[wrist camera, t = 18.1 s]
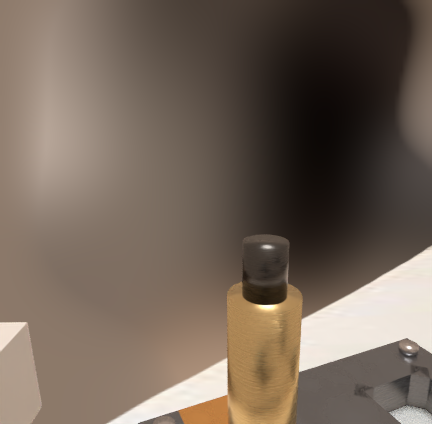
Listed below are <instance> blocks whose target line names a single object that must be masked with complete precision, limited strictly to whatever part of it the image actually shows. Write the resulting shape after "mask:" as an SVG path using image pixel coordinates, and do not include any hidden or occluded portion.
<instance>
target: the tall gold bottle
mask: <svg viewBox="0 0 432 424" xmlns="http://www.w3.org/2000/svg"><path fill="white" fill-rule="evenodd" d="M288 258H289V241H288V240H287V239H285V238H283V237H280V236H274V235H254V236H249V237H246V238H245V239H243V247H242V262H243V263H242V282H240V283H237V284H235V285H234V286H232V287H231V288H230V289H229V291H228V293H227V317H228V318H227V322H228V323H227V327H228V329H227V331H228V332H227V337H228V338H227V343H228V344H227V346H228V347H227V349H228V350H227V351H228V355H227V357H228V424H296V419H297V399H298V379H299V358H300V338H301V318H302V294H301V292H300V291H299V290H298V289H296V288H295V287H294V286H292V285H289V284H288V260H289V259H288Z"/></svg>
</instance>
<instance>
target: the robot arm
mask: <svg viewBox="0 0 432 424" xmlns="http://www.w3.org/2000/svg"><path fill="white" fill-rule="evenodd" d="M41 407H42V404H41V398H40V392H39V386H38V381H37V375H36V369H35V363H34V358H33V352H32V346H31V341H30V335H29V329H28V323H27V322H26V323H25V322H15V323H0V424H31V423H32V422H33V420H34V418H35V417H36V415H37V413H38V412H39V410H40V409H41Z"/></svg>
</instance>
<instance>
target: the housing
mask: <svg viewBox="0 0 432 424" xmlns="http://www.w3.org/2000/svg"><path fill="white" fill-rule="evenodd" d="M405 405H411V406H415V407H420V408H424V409H426V410H428V411H429V412H430V413H431V414H432V354H431V353H430V352H428V351H426V350H425V349H423V348H422V347H420V346H419V345H418V344H417V343H415V342H413V341H411V340H409V339H407V338H406V339H403V340H400V341H397V342H394V343H391V344H387V345H384V346H381V347H378V348H375V349H372V350H368V351H365V352H362V353H359V354H356V355H353V356H349V357H346V358H343V359H340V360H337V361H334V362H330V363H327V364H324V365H321V366H318V367H315V368H311V369H308V370H305V371H302V372H299V379H298V399H297V419H296V424H401V423H400V422H398V421H397V420H396V419H395V418H394V417H393V416H392V415H391V414H389V413H388V412H390V411H392V410H395V409H397V408H400V407H402V406H405ZM138 424H228V395H226V396H223V397H220V398H216V399H213V400H210V401H207V402H204V403H201V404H197V405H194V406H191V407H188V408H185V409H181V410H178V411H175V412H172V413H169V414H166V415H162V416H159V417H156V418H153V419H150V420H147V421H143V422H140V423H138Z"/></svg>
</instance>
